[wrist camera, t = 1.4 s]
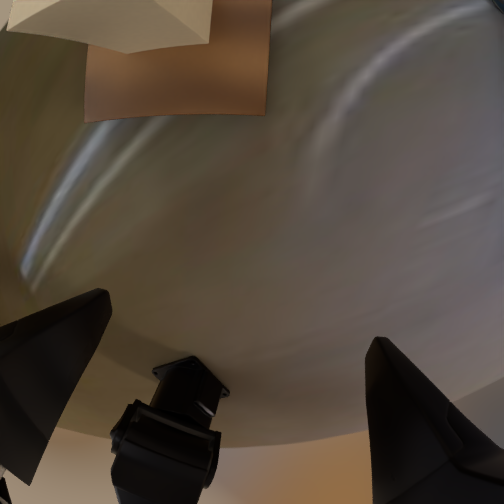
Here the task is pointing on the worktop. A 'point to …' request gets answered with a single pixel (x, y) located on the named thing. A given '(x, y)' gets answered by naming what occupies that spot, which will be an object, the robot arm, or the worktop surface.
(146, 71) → the wooden base plate
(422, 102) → the worktop surface
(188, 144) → the worktop surface
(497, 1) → the soda can
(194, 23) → the cream box
